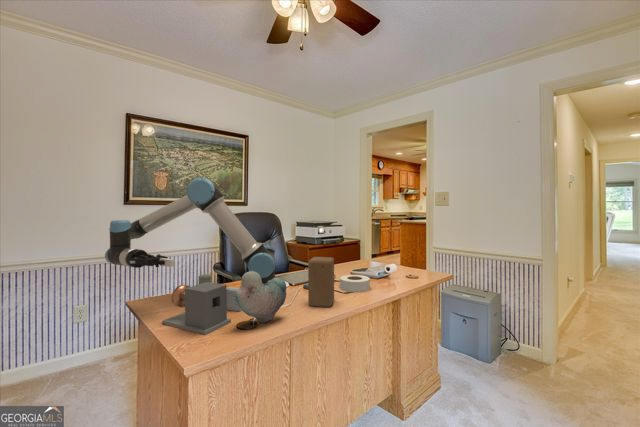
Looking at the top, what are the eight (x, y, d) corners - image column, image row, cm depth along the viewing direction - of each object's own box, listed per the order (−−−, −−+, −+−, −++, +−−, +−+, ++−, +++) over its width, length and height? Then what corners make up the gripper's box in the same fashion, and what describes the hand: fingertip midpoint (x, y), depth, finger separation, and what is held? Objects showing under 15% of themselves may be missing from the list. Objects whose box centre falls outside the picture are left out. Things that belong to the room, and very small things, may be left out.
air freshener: (217, 292, 148) (217, 272, 148) (217, 297, 141) (216, 276, 140) (193, 294, 145) (193, 274, 145) (192, 299, 137) (192, 278, 137)
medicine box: (246, 308, 125) (245, 288, 125) (239, 312, 121) (239, 291, 121) (230, 306, 128) (230, 286, 128) (223, 309, 124) (223, 289, 124)
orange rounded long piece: (171, 309, 110) (171, 287, 110) (189, 302, 117) (189, 282, 117) (198, 315, 104) (198, 292, 103) (215, 307, 111) (215, 286, 111)
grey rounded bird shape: (279, 312, 120) (279, 263, 120) (292, 319, 113) (292, 267, 113) (230, 326, 107) (230, 271, 106) (241, 334, 100) (241, 275, 99)
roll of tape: (340, 283, 165) (340, 273, 164) (369, 284, 163) (369, 274, 162) (338, 292, 149) (338, 281, 149) (370, 293, 147) (370, 282, 147)
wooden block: (330, 308, 125) (330, 261, 125) (307, 306, 127) (307, 260, 127) (334, 300, 135) (334, 257, 134) (313, 299, 137) (312, 256, 136)
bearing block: (162, 323, 109) (161, 285, 109) (189, 313, 120) (188, 278, 120) (205, 335, 100) (205, 293, 99) (230, 322, 110) (230, 284, 110)
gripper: (149, 264, 131) (186, 269, 120) (118, 269, 119) (156, 276, 109) (149, 247, 130) (186, 251, 120) (118, 251, 119) (156, 256, 108)
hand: (172, 263), depth 114 cm, fingers closed
